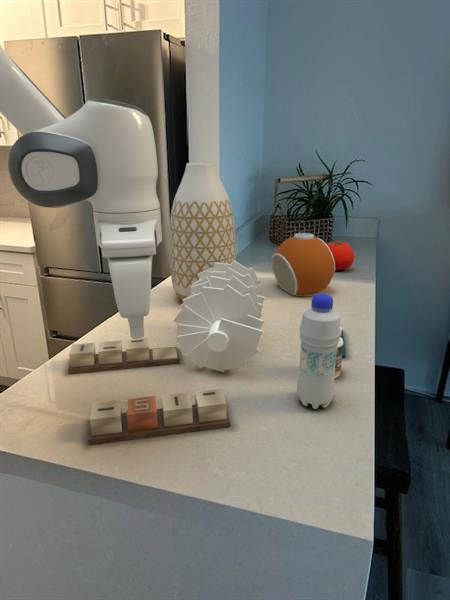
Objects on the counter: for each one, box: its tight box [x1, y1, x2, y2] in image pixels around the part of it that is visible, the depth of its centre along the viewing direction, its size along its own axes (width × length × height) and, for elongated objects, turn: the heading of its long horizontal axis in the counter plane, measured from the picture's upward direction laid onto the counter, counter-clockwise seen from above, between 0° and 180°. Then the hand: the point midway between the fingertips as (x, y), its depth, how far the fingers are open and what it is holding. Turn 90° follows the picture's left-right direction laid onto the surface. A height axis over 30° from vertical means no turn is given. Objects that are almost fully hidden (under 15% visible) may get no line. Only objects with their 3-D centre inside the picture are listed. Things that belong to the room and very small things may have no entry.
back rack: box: [67, 337, 180, 375], centre depth 89 cm, size 22×6×4 cm, turn 101°
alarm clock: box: [271, 232, 336, 297], centre depth 131 cm, size 19×18×17 cm
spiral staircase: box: [173, 260, 266, 373], centre depth 92 cm, size 18×18×25 cm
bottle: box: [296, 293, 341, 410], centre depth 72 cm, size 7×7×20 cm
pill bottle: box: [334, 325, 343, 379], centre depth 84 cm, size 6×6×10 cm
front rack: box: [87, 388, 231, 446], centre depth 69 cm, size 22×6×4 cm, turn 101°
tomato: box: [326, 239, 355, 272], centre depth 153 cm, size 11×13×10 cm
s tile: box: [126, 395, 158, 431], centre depth 69 cm, size 4×4×3 cm
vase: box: [169, 162, 237, 301], centre depth 120 cm, size 19×18×38 cm
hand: (137, 323), depth 63 cm, fingers open, 8 cm apart
